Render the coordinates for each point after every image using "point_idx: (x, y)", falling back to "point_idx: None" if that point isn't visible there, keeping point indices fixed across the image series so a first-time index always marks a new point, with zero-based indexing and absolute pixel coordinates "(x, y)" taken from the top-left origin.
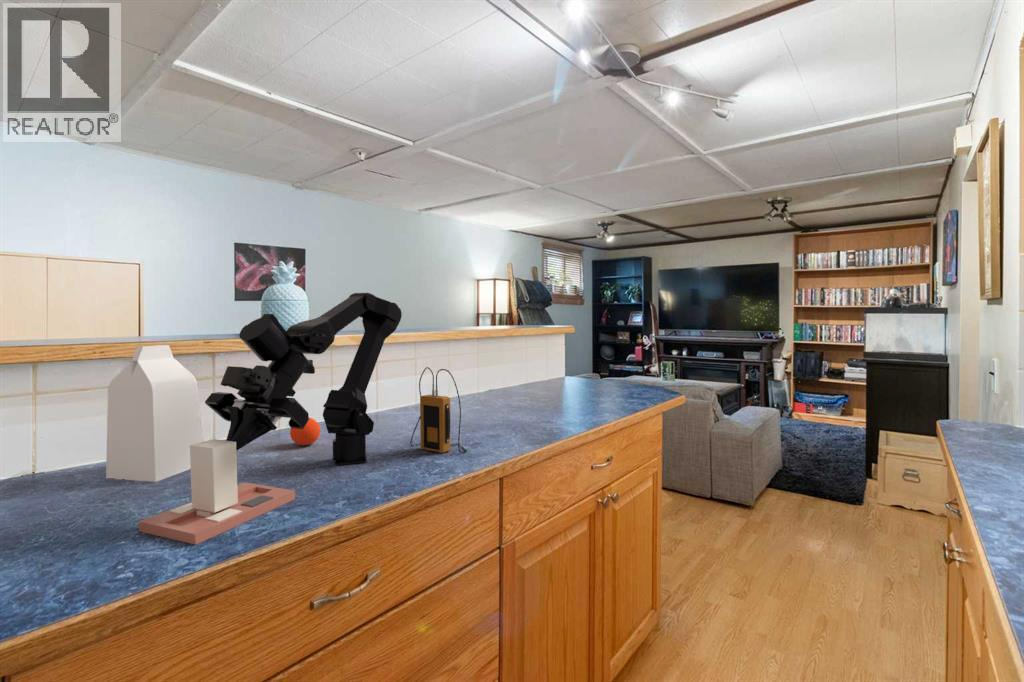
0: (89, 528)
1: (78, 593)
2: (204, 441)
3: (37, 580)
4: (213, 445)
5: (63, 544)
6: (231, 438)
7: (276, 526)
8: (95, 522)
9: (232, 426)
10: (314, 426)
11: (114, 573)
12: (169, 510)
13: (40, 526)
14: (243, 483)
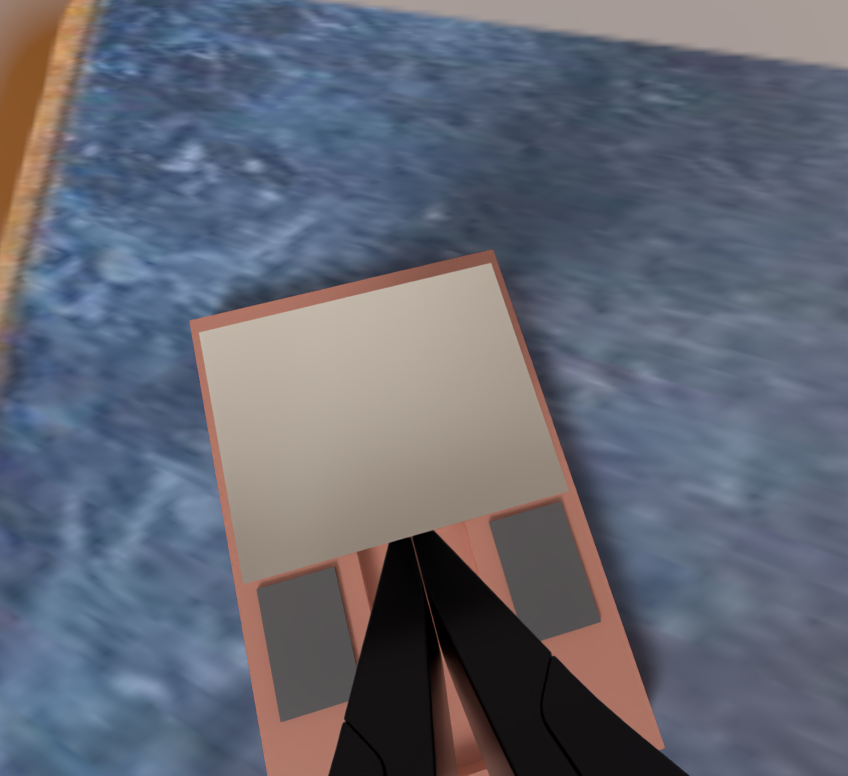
0: (646, 188)
1: (187, 76)
2: (531, 391)
3: (352, 43)
4: (301, 379)
5: (560, 120)
6: (440, 623)
7: (80, 593)
8: (693, 211)
9: (560, 723)
10: None
11: (224, 146)
12: (522, 349)
13: (780, 114)
14: (646, 732)
